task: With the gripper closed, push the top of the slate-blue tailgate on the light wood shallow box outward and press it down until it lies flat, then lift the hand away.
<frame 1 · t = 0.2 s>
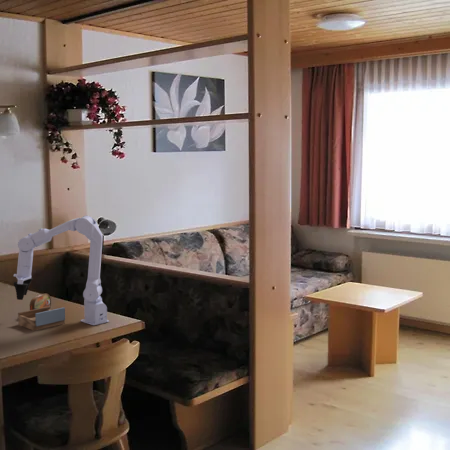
hand: (21, 297, 258), 10 cm above the table, tool pointing down, fingers open, 7 cm apart
tin: (40, 314, 271), on the table
tailgate: (50, 316, 251), point 4 cm above the table, hinge at 0.0°
light wood shallow box: (41, 324, 256), on the table
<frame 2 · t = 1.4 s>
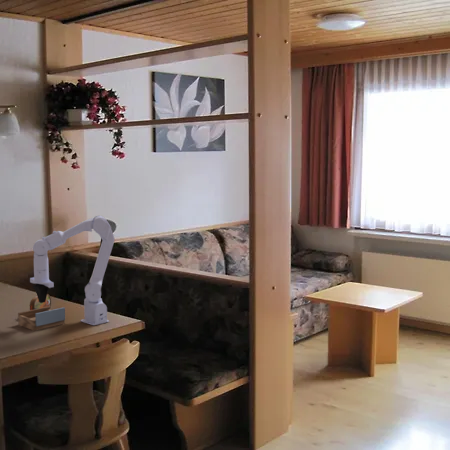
hand: (42, 302, 254), 9 cm above the table, tool pointing down, fingers closed
nothing on the table moved.
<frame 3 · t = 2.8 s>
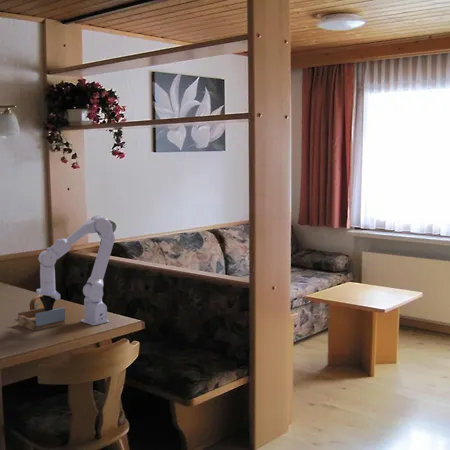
hand: (48, 313, 251), 5 cm above the table, tool pointing down, fingers closed, pressing on tailgate
tailgate: (50, 316, 251), point 4 cm above the table, hinge at 0.0°, touching gripper
everything else where it was.
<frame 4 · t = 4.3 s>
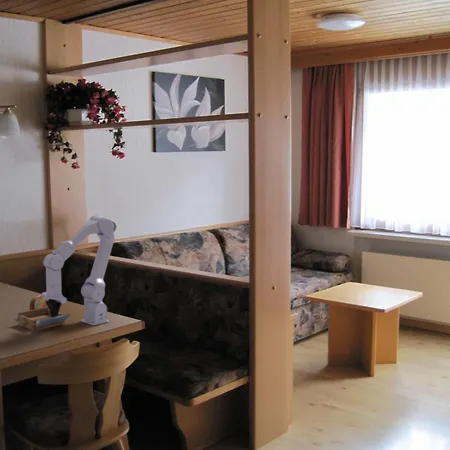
hand: (54, 317, 249), 5 cm above the table, tool pointing down, fingers closed, pressing on tailgate
tailgate: (52, 320, 250), point 3 cm above the table, hinge at 51.2°, touching gripper
everything else where it was.
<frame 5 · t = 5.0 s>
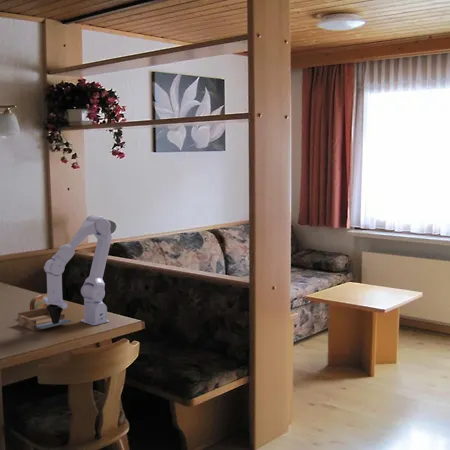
hand: (55, 323, 248), 3 cm above the table, tool pointing down, fingers closed
tailgate: (53, 323, 250), point 2 cm above the table, hinge at 83.3°
everything else where it was.
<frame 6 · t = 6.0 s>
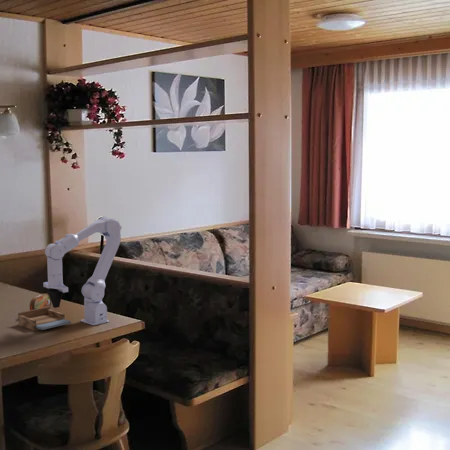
hand: (56, 307, 250), 8 cm above the table, tool pointing down, fingers closed
tailgate: (53, 324, 250), point 2 cm above the table, hinge at 88.0°
everything else where it was.
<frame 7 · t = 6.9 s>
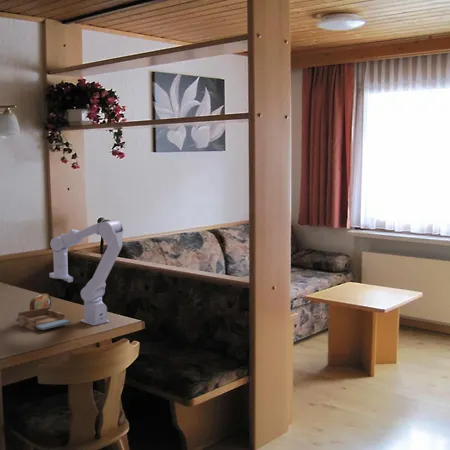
hand: (61, 296, 264), 9 cm above the table, tool pointing down, fingers closed
nothing on the table moved.
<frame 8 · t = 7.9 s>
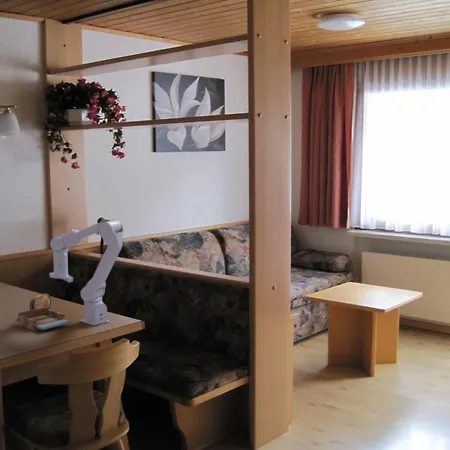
hand: (61, 296, 264), 9 cm above the table, tool pointing down, fingers closed
nothing on the table moved.
at the end: tailgate at +88° (first picture: +0°); tin moved 0.3 cm from its start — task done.
